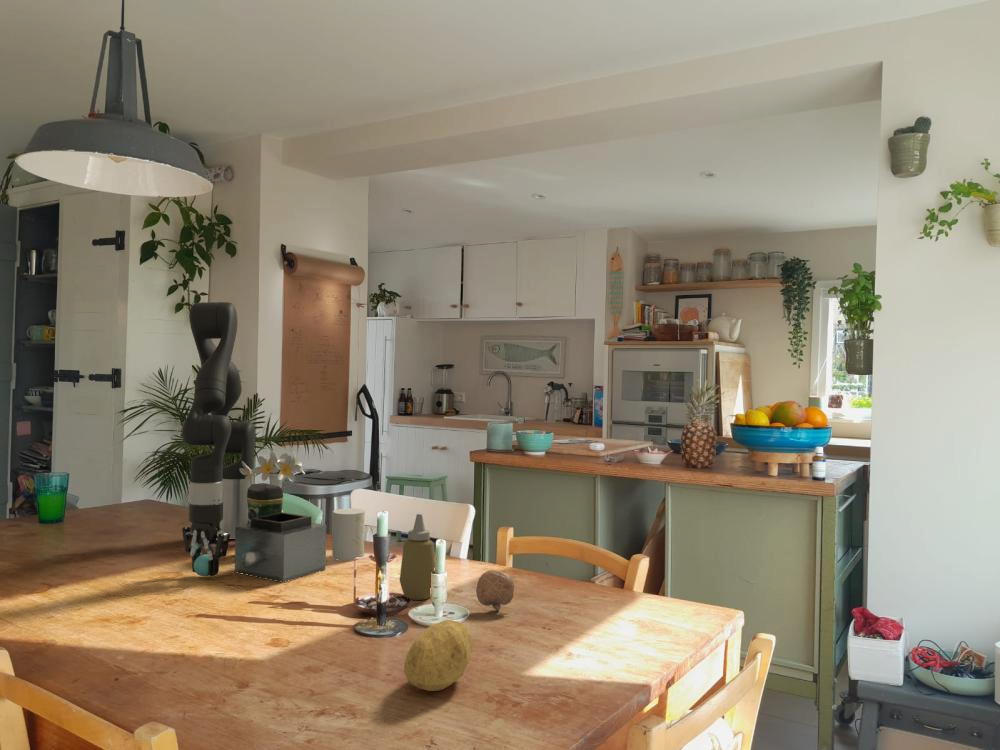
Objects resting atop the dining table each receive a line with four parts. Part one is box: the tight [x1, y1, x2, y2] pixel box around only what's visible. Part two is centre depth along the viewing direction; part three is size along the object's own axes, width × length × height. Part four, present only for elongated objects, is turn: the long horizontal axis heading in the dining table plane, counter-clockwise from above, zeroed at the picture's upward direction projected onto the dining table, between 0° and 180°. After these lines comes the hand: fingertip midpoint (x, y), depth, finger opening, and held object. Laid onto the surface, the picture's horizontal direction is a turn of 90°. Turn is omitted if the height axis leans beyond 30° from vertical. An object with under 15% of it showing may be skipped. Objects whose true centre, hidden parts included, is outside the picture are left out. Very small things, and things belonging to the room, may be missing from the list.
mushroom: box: [475, 569, 515, 612], centre depth 162 cm, size 8×6×8 cm
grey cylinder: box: [331, 507, 366, 561], centre depth 205 cm, size 8×8×12 cm
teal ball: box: [194, 553, 210, 577], centre depth 183 cm, size 5×5×5 cm
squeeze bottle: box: [399, 513, 436, 601], centre depth 171 cm, size 8×8×18 cm
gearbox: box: [234, 511, 327, 583], centre depth 188 cm, size 16×18×13 cm
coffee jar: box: [247, 482, 284, 524], centre depth 207 cm, size 10×8×19 cm
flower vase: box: [239, 451, 306, 512], centre depth 223 cm, size 13×18×25 cm
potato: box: [403, 619, 473, 692], centre depth 124 cm, size 10×14×10 cm
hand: (205, 573), depth 183 cm, fingers closed on teal ball, 5 cm apart
